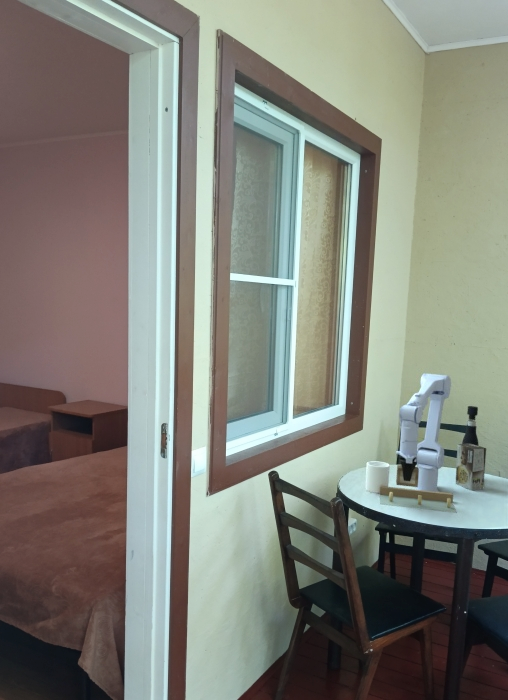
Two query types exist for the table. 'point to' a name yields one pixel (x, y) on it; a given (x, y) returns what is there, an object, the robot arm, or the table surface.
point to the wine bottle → (471, 427)
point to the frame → (412, 482)
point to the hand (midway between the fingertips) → (406, 478)
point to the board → (417, 499)
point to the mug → (376, 476)
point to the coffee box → (470, 466)
